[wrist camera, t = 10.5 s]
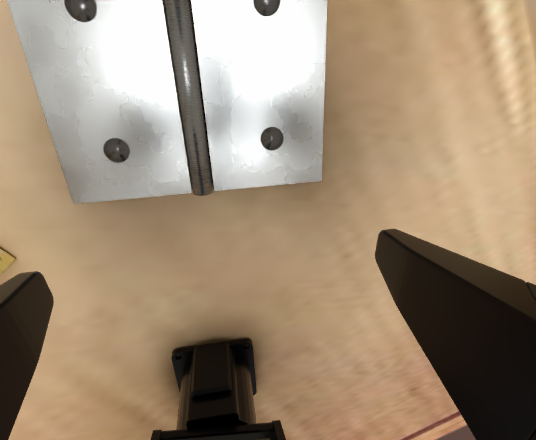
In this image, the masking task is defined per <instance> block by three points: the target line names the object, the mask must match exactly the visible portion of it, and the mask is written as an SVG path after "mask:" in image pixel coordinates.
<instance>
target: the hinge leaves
mask: <svg viewBox="0 0 536 440" xmlns="http://www.w3.org/2000/svg"><path fill="white" fill-rule="evenodd" d="M7 2H8V5H9V8H10V11H11V14H12V18H13V21H14V24H15V27H16V30H17V33H18V36H19V39H20V42H21V45H22V48H23V51H24V54H25V57H26V60H27V63H28V66H29V69H30V72H31V75H32V78H33V81H34V84H35V88H36V91H37V94H38V97H39V100H40V103H41V106H42V109H43V112H44V115H45V118H46V121H47V124H48V127H49V130H50V133H51V136H52V139H53V142H54V145H55V148H56V151H57V154H58V158H59V161H60V164H61V167H62V170H63V173H64V176H65V179H66V182H67V185H68V188H69V191H70V194H71V197H72V200H73V203H74V204H79V203H90V202H101V201H112V200H123V199H133V198H144V197H155V196H166V195H177V194H187V193H192V187H193V193H194V194H195V195H199V196H202V195H208V194H210V193H212V192H213V189H212V181H211V173H210V165H209V157H208V149H207V141H206V133H205V125H204V117H203V108H202V100H201V92H200V84H199V76H198V68H197V60H196V52H195V44H194V36H193V28H192V20H191V12H190V4H189V0H164V1H163V0H7ZM164 3H165V7H164ZM191 4H192V12H193V20H194V28H195V36H196V45H197V53H198V61H199V69H200V77H201V86H202V94H203V102H204V110H205V118H206V126H207V135H208V143H209V151H210V159H211V167H212V176H213V184H214V191H220V190H231V189H241V188H252V187H263V186H274V185H285V184H295V183H306V182H317V181H322V155H323V122H324V89H325V56H326V23H327V0H191ZM165 10H166V14H165ZM166 16H167V21H166ZM167 23H168V27H167ZM168 29H169V34H168ZM169 36H170V40H169ZM170 42H171V47H170ZM171 49H172V53H171ZM172 55H173V60H172ZM173 62H174V66H173ZM174 69H175V73H174ZM175 75H176V79H175ZM176 82H177V86H176ZM177 88H178V92H177ZM178 95H179V99H178ZM179 101H180V105H179ZM180 108H181V112H180ZM181 114H182V118H181ZM182 121H183V125H182ZM183 128H184V131H183ZM184 134H185V138H184ZM185 141H186V145H185ZM186 147H187V151H186ZM187 154H188V158H187ZM188 160H189V164H188ZM189 167H190V171H189ZM190 174H191V177H190ZM191 180H192V184H191Z"/></svg>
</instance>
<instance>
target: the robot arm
mask: <svg viewBox="0 0 536 440" xmlns="http://www.w3.org/2000/svg"><path fill="white" fill-rule="evenodd" d="M375 259H376V262H377V264H378V267H379V269H380V271H381V273H382V275H383V278H384V280H385V282H386V284H387V286H388V289H389V291H390V293H391V295H392V297H393V300H394V302H395V304H396V306H397V307H398V309H399V311H400V313H401V314H402V316H403V318H404V319H405V321H406V323H407V324H408V326H409V328H410V329H411V331H412V333H413V334H414V336H415V338H416V340H417V341H418V343H419V345H420V346H421V348H422V350H423V351H424V353H425V355H426V356H427V358H428V360H429V361H430V363H431V365H432V366H433V368H434V370H435V371H436V373H437V375H438V376H439V378H440V380H441V381H442V383H443V385H444V387H445V388H446V390H447V392H448V393H449V395H450V397H451V398H452V400H453V402H454V403H455V405H456V407H457V408H458V410H459V412H460V413H461V415H462V417H463V418H464V420H465V422H466V423H467V425H468V427H469V428H470V430H471V432H472V433H473V435H474V437H475V439H476V440H536V285H534V284H531V283H529V282H526V283H525V281H524V280H521V279H519V278H516V277H514V276H511V275H509V274H506V273H504V272H501V271H499V270H496V269H494V268H491V267H489V266H486V265H484V264H481V263H479V262H476V261H474V260H471V259H469V258H466V257H464V256H461V255H459V254H457V253H454V252H452V251H449V250H447V249H444V248H442V247H439V246H437V245H434V244H432V243H429V242H427V241H424V240H422V239H419V238H417V237H414V236H412V235H409V234H407V233H404V232H402V231H399V230H397V229H387V230H382V231H380V233H379V235H378V240H377V246H376V251H375ZM53 302H54V301H53V295H52V293H51V291H50V289H49V287H48V285H47V283H46V281H45V278H44V276H43V275H42V274H41V273H40V272H37V271H35V272H27V273H21V274H18V275H16V276H15V277H13V278H11V279H10V280H8V281H7V282H5V283H3V284H2V285H0V440H8V439H9V436H10V433H11V431H12V428H13V426H14V423H15V420H16V418H17V415H18V413H19V410H20V408H21V405H22V402H23V400H24V397H25V395H26V392H27V390H28V387H29V384H30V382H31V379H32V377H33V374H34V372H35V369H36V366H37V363H38V360H39V357H40V354H41V350H42V346H43V342H44V339H45V335H46V331H47V327H48V323H49V319H50V316H51V312H52V308H53ZM245 345H247V346H245ZM177 355H180V356H177ZM172 362H173V366H174V370H175V375H176V379H177V383H178V387H179V391H180V400H179V410H178V419H177V429H176V430H171V431H162V430H153V433H152V437H151V440H286V438H285V435H284V432H283V429H282V426H281V422H280V420H277V421H272V422H270V423H257V424H256V416H255V408H254V400H253V395H255V394H256V380H255V368H254V357H253V346H252V341H251V340H249V339H243V340H236V341H230V342H223V343H216V344H209V345H202V346H196V347H189V348H182V349H176V350H174V351H173V352H172Z"/></svg>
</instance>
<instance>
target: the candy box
mask: <svg viewBox="0 0 536 440" xmlns="http://www.w3.org/2000/svg"><path fill="white" fill-rule="evenodd" d="M14 261H15V258H14V257H12V256H11V255H9V254H8V253H6V252H5V251H3V250H2V249H0V275H1V274H2V273H3V272H4V271H5V270H6V269H7V268H8V267H9V266H10V265H11V264H12V263H13V262H14Z"/></svg>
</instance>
